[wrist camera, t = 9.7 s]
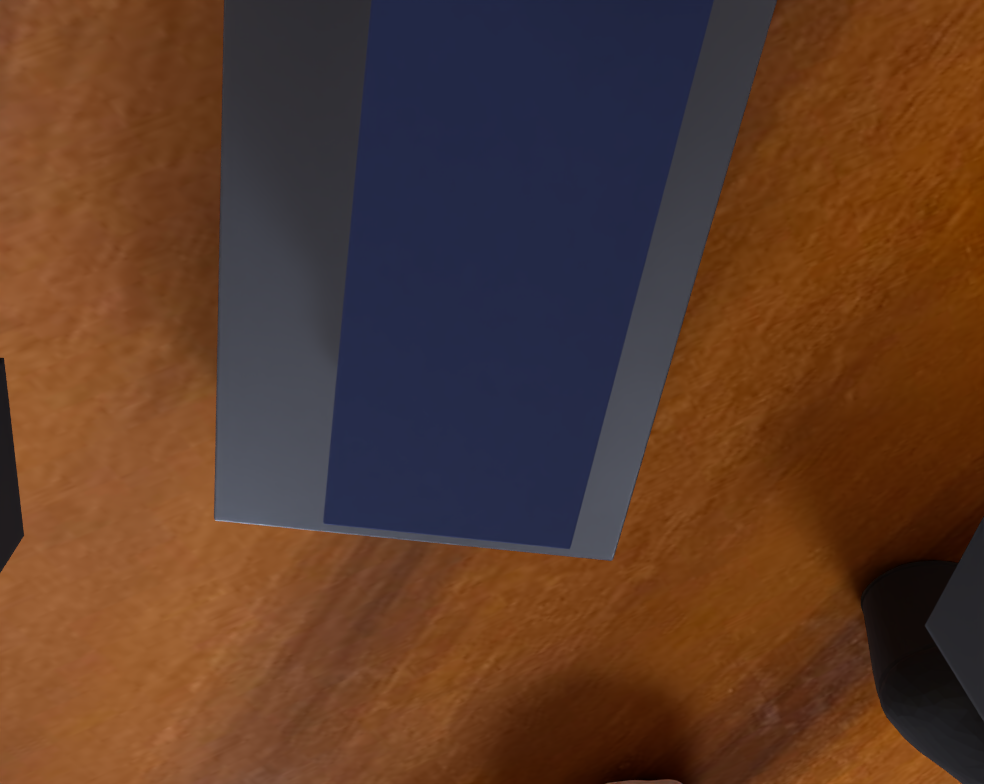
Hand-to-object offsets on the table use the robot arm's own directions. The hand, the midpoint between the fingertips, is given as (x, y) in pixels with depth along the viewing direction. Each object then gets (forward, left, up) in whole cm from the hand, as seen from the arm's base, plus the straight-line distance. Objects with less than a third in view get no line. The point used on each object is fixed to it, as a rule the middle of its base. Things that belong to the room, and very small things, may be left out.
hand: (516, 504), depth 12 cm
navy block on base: (0, 0, -15) cm, 15 cm away
